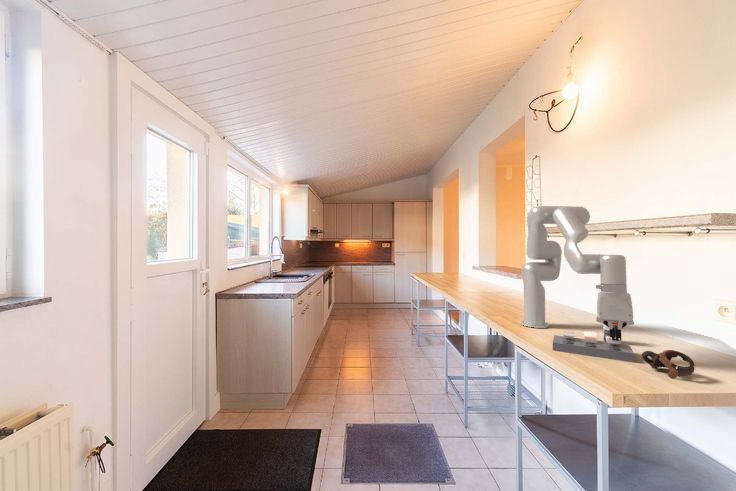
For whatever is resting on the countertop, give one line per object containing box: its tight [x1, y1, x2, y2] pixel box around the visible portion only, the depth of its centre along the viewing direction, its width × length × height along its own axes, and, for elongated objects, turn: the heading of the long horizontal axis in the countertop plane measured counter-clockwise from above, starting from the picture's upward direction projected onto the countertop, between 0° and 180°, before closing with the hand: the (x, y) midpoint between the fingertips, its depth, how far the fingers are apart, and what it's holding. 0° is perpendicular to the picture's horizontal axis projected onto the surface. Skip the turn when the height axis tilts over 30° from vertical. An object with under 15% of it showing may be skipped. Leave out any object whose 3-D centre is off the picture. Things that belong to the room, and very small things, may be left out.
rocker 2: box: [606, 336, 622, 345], centre depth 119 cm, size 6×4×2 cm, turn 147°
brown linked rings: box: [641, 349, 695, 380], centre depth 100 cm, size 12×10×8 cm
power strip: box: [552, 334, 635, 363], centre depth 120 cm, size 12×24×3 cm, turn 57°
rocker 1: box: [561, 331, 576, 339], centre depth 126 cm, size 6×4×2 cm, turn 147°
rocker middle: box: [583, 331, 598, 343], centre depth 123 cm, size 6×4×2 cm, turn 147°
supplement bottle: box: [602, 320, 623, 342], centre depth 133 cm, size 6×6×11 cm
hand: (615, 339), depth 116 cm, fingers closed
